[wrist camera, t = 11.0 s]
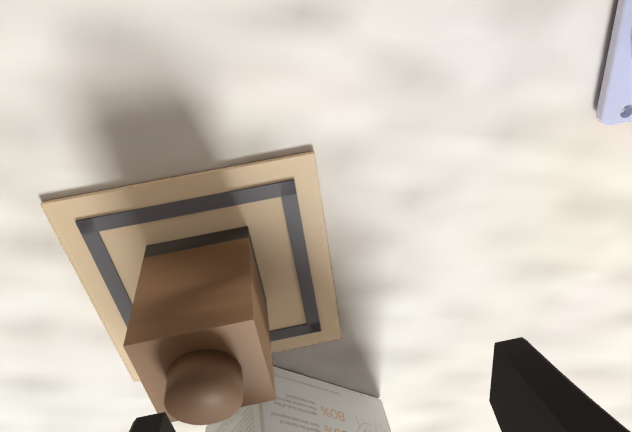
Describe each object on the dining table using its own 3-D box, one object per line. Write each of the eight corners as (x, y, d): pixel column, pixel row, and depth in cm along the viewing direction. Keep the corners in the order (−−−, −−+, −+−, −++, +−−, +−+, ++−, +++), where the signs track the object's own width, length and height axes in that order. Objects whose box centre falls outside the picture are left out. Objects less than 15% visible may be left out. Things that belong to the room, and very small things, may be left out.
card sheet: (313, 150, 18) (314, 154, 18) (340, 335, 24) (342, 340, 24) (41, 201, 18) (39, 206, 18) (134, 378, 23) (133, 383, 23)
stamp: (247, 225, 20) (254, 344, 14) (266, 299, 22) (278, 425, 17) (146, 245, 19) (117, 372, 14) (175, 318, 22) (159, 450, 16)
